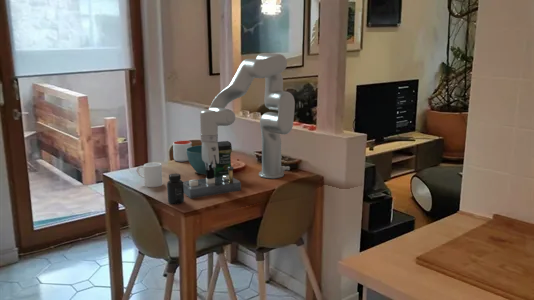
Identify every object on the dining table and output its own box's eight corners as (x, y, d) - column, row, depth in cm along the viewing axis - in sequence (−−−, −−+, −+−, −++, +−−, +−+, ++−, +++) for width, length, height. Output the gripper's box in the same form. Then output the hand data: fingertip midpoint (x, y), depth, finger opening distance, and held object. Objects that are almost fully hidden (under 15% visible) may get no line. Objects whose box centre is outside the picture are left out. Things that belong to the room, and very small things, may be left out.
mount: (229, 183, 248) (229, 171, 247) (241, 190, 237) (240, 178, 236) (180, 190, 237) (180, 178, 236) (190, 198, 226) (190, 185, 225)
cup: (195, 159, 293) (195, 141, 290) (183, 163, 284) (183, 145, 282) (181, 157, 298) (181, 139, 295) (169, 160, 290) (169, 143, 287)
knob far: (196, 189, 236) (196, 178, 235) (199, 192, 232) (199, 181, 231) (188, 191, 234) (187, 180, 233) (191, 193, 231) (190, 182, 229)
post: (232, 181, 238) (231, 166, 236) (234, 182, 235) (234, 167, 234) (227, 181, 236) (226, 166, 235) (229, 183, 234) (229, 168, 233)
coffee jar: (215, 182, 250) (215, 144, 246) (210, 177, 257) (209, 140, 253) (234, 179, 254) (234, 142, 250) (228, 175, 261) (227, 139, 257)
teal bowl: (180, 171, 268) (179, 148, 265) (209, 165, 279) (208, 143, 277) (200, 179, 254) (199, 154, 252) (230, 172, 266) (229, 149, 263)
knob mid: (213, 187, 240) (212, 176, 238) (216, 189, 236) (216, 178, 235) (205, 188, 238) (204, 177, 237) (208, 190, 234) (208, 179, 233)
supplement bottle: (185, 199, 225) (184, 172, 222) (183, 204, 218) (182, 177, 216) (169, 199, 225) (167, 172, 222) (166, 204, 218) (165, 177, 215)
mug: (140, 181, 251) (139, 161, 248) (164, 182, 249) (163, 162, 247) (134, 186, 243) (132, 166, 241) (159, 187, 241) (158, 167, 239)
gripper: (223, 140, 227) (224, 181, 231) (210, 134, 240) (211, 173, 244) (207, 142, 223) (208, 183, 227) (195, 135, 236) (196, 175, 240)
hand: (210, 177), depth 236 cm, fingers closed
